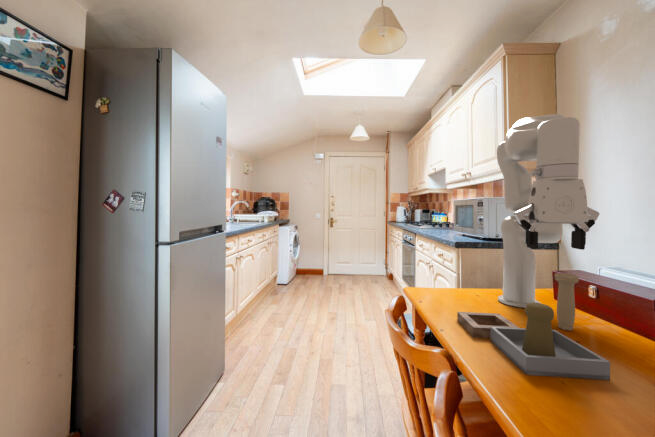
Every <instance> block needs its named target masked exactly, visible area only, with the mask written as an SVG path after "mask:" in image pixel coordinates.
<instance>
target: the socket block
mask: <svg viewBox="0 0 655 437" xmlns="http://www.w3.org/2000/svg"><path fill="white" fill-rule="evenodd" d="M456 315H457V316H456V317H457V322H459V323H460V325H461V326H463V328H464V329H465V330H466V331H467V332H468V333H469V334H470V336H472V337H473V338H482V339H484V338H485V339H490V327H505V328H520V327H519V326H518V325H516V324H515V323H514V322H512V321H510V320H509V319H508V318H507V317H505V316H503V315H501V314H500V313H497V312H495V313H491V312H490V313H489V312H473V311H472V312H471V311H470V312H469V311H457V314H456Z"/></svg>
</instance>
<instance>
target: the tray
mask: <svg viewBox="0 0 655 437" xmlns="http://www.w3.org/2000/svg"><path fill="white" fill-rule="evenodd" d="M525 330H526V327H524V328H522V327H519V328H505V327H490V338H489V340H490V342H491V343H492V344H493V345H494V347H497V349H499V351H501V352H502V353H503V354H504V355H505V356H506V357H507V358H508V359H509V360H510V361H511V362H512V363H513V364H514V365H516V366H517V367H518V369H519V370H521V371H522V372H523V373H524V374H525V375H529V376H539V377H540V376H542V377H557V378H559V377H560V378H574V379H586V380H587V379H588V380H603V381H611V361H610V360H608V359H606V358H604V357H603V356H601V355H599V354H597V353H596V352H594V351H592V350H590V349H589V348H587V347H585V346H584V345H582V344H580V343H578V342H577V341H575V340H573V339H572V338H570V337H568V336H566V335H565V334H563V333H561V332H560V331H558V330H556V329H552V334H553V341H554V348H555V355H556V357H550V356H533V355H527V354H526V353H525V352H524V351H522V347H523V342H524V336H525Z"/></svg>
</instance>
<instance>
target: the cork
mask: <svg viewBox="0 0 655 437" xmlns="http://www.w3.org/2000/svg"><path fill="white" fill-rule="evenodd" d="M524 313H525V315H526V317H527V319H526V326H525V329H526V330H525V336H524V342H523V347H522V351H524V352H525V353H526V354H527V355H533V356H550V357H556V355H555V348H554V341H553V334H552V330H553V329H552V328H553V327H552V321H553V320H554V317H555V311H554V309H553V308H552V307H551V306H549V305H547V304H544V303H542V302H540V303H529V304H527V305H526V307H525V308H524Z"/></svg>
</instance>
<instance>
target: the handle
mask: <svg viewBox="0 0 655 437" xmlns="http://www.w3.org/2000/svg"><path fill="white" fill-rule="evenodd" d="M554 280H555V281H556V282H558V289H557V299H556V300H557V301H556V302H557V303H556V318H557V326H558V329H560V330H561V329H562V330H563V331H569V332H571V331H573V330H574V325H575V320H576V319H575V317H576V301H575V300H576V299H575V284H577V283H579V281H580V278H579V276H578V275H575V274H572V273H563V272H555V273H554Z"/></svg>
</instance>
